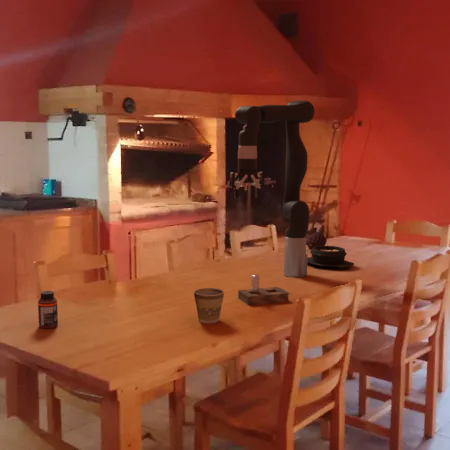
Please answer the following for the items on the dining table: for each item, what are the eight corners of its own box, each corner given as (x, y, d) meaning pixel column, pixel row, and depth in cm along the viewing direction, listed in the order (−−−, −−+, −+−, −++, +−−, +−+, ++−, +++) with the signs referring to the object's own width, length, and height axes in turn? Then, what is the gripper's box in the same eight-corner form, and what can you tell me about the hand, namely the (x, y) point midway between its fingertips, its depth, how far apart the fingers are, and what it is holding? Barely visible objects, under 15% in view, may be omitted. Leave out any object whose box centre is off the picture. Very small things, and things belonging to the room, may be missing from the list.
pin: (256, 300, 238) (257, 274, 236) (260, 302, 235) (260, 275, 233) (249, 300, 237) (249, 274, 235) (252, 303, 234) (253, 276, 232)
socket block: (276, 295, 244) (277, 286, 244) (288, 302, 235) (288, 293, 235) (238, 299, 239) (238, 290, 238) (248, 306, 230) (248, 296, 229)
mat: (279, 288, 256) (279, 287, 256) (290, 294, 246) (290, 293, 246) (257, 290, 252) (257, 289, 252) (267, 296, 243) (267, 295, 243)
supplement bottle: (40, 323, 207) (39, 289, 205) (59, 323, 208) (58, 289, 206) (37, 329, 201) (35, 294, 200) (56, 329, 202) (55, 294, 200)
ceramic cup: (213, 327, 205) (213, 297, 204) (187, 321, 210) (187, 292, 209) (233, 317, 216) (234, 288, 214) (209, 312, 221) (209, 284, 220)
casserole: (294, 265, 300) (295, 247, 299) (315, 259, 314) (316, 242, 313) (341, 273, 284) (342, 254, 283) (361, 266, 298) (362, 249, 297)
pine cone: (318, 247, 346) (319, 229, 344) (333, 249, 339) (334, 231, 338) (299, 251, 333) (299, 232, 331) (314, 254, 326) (315, 235, 325)
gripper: (260, 156, 256) (259, 196, 259) (227, 157, 251) (226, 197, 254) (267, 157, 249) (267, 198, 252) (234, 157, 244) (233, 199, 247)
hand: (246, 198), depth 253 cm, fingers open, 8 cm apart
